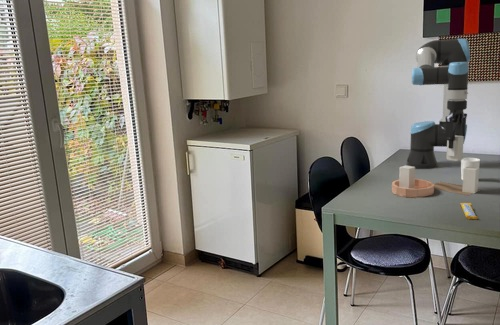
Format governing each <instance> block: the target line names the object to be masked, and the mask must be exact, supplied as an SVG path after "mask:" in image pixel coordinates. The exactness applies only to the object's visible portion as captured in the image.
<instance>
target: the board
mask: <svg viewBox="0 0 500 325" xmlns="http://www.w3.org/2000/svg"><path fill="white" fill-rule="evenodd" d="M462 189H463V185H461V184H456V183H451V182H450V183H449V182H446V181H438V182H436V183H434V190H438V191H443V192H450V193H454V194H458V195H464V196H470V195H472V194H474V193H468V192H462ZM482 190H483V188H478V191H477V192H479V191H482ZM477 192H476V193H477Z"/></svg>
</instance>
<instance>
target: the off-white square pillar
mask: <svg viewBox="0 0 500 325" xmlns="http://www.w3.org/2000/svg"><path fill="white" fill-rule="evenodd" d="M479 173H480V167H479V168H475V167H466V168H464V169H463V180H462V186H463V189H462V192H468V193H473V194H475V193H477V191H478V189H479V178H480V177H479V176H480V174H479ZM478 192H479V191H478Z"/></svg>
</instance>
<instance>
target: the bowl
mask: <svg viewBox="0 0 500 325" xmlns="http://www.w3.org/2000/svg"><path fill="white" fill-rule="evenodd" d="M434 184H435V183H434V182H431V181H429V180H425V179H421V178H420V179H419V178H415V189H410V188H403V187H399V179H396V180H394V181H392V183H391V193H392V194H393V195H395V196H398V197H401V198H406V199H416V198H420V197H422V198H424V197H428V196H431V195H434V193H435V189H434Z"/></svg>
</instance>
